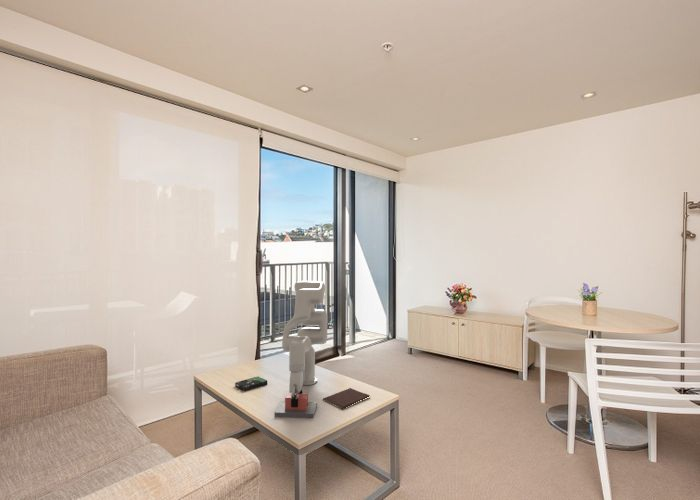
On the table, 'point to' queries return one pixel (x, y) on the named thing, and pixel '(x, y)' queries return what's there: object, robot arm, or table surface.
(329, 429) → the table surface
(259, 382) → the disk drive
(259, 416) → the table surface
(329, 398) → the notebook
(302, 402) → the block
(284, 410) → the board
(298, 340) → the robot arm
